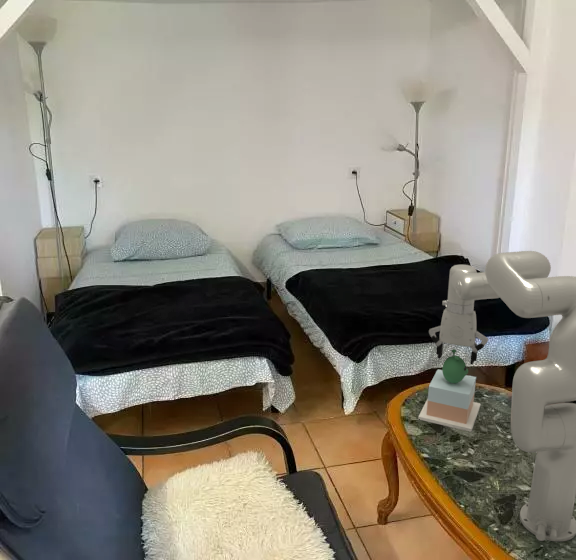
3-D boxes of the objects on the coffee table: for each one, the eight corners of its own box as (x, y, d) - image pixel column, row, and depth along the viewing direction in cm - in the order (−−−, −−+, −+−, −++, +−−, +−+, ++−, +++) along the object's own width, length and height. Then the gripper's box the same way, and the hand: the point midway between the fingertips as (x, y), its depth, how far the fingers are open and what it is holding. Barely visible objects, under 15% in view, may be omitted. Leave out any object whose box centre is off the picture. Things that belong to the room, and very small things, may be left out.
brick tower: (471, 431, 179) (475, 399, 175) (418, 419, 185) (420, 387, 182) (480, 406, 192) (483, 375, 188) (430, 395, 199) (432, 365, 195)
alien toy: (469, 387, 181) (473, 357, 178) (444, 387, 182) (446, 357, 178) (463, 376, 188) (466, 347, 185) (439, 376, 188) (441, 347, 185)
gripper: (428, 306, 177) (424, 359, 182) (488, 315, 170) (483, 370, 175) (433, 298, 183) (430, 350, 189) (492, 306, 176) (487, 360, 182)
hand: (455, 359), depth 182 cm, fingers open, 9 cm apart
